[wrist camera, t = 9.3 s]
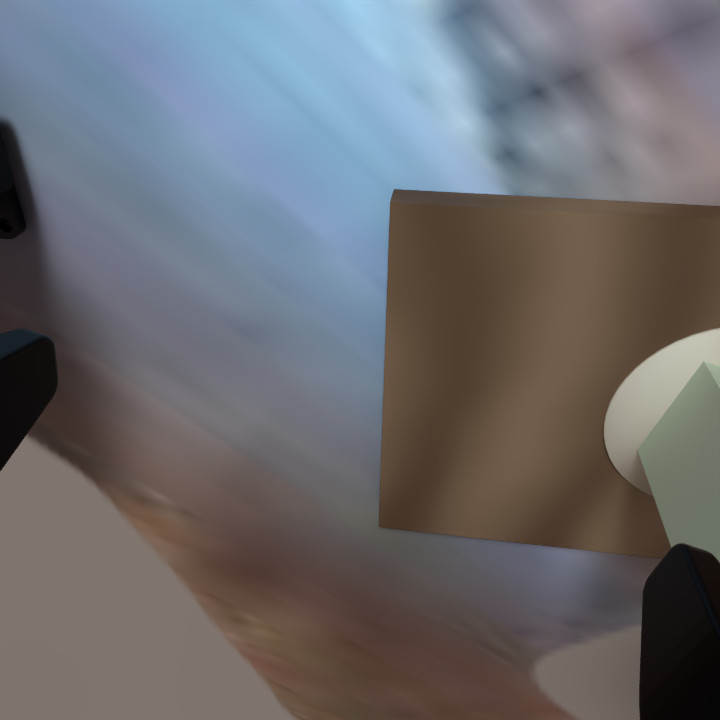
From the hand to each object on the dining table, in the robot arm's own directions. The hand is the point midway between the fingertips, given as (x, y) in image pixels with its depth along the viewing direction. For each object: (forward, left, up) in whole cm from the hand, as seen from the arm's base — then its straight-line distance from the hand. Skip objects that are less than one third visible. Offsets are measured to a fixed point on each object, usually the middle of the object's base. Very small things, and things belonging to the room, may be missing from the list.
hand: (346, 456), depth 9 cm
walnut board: (+7, -7, -13) cm, 17 cm away
